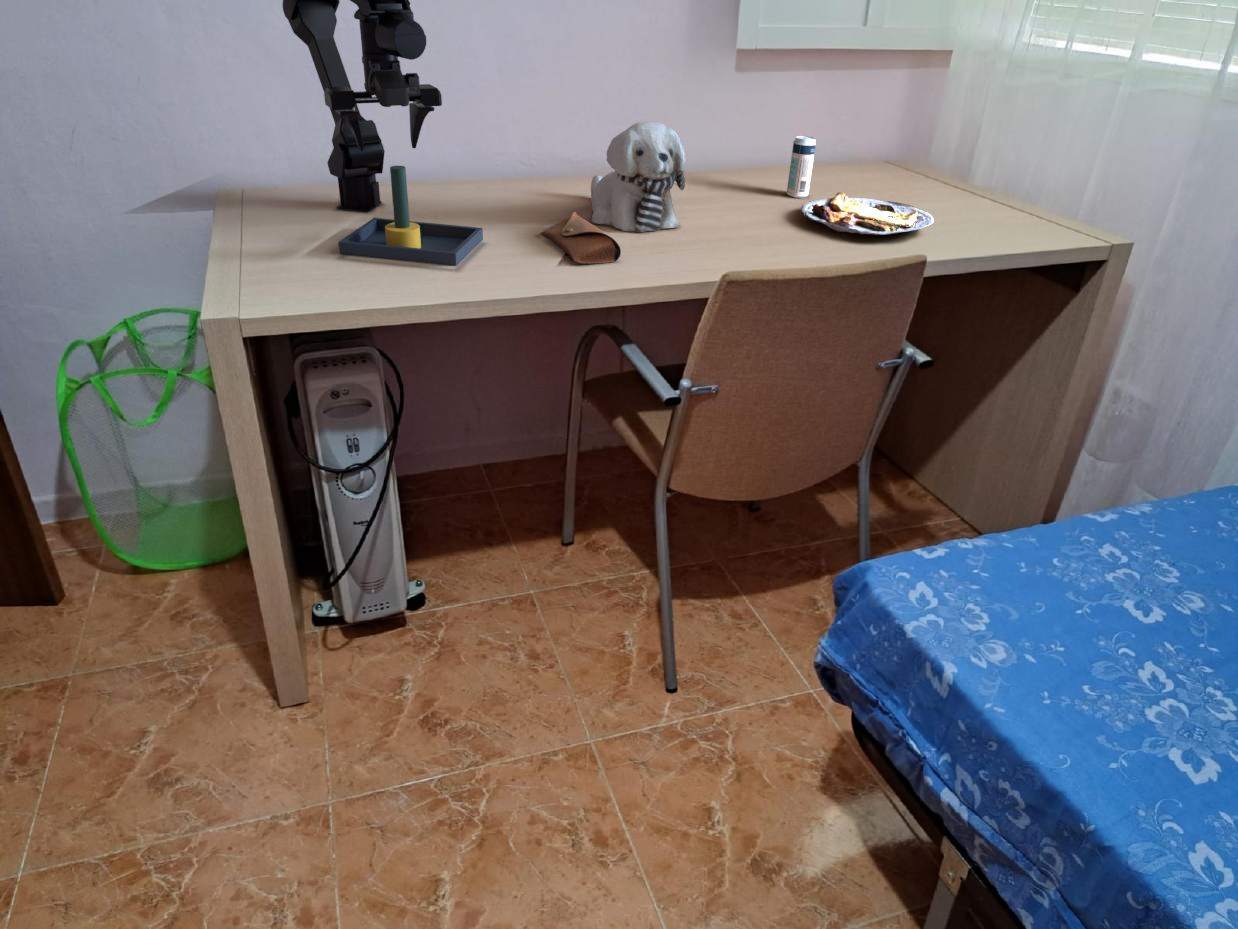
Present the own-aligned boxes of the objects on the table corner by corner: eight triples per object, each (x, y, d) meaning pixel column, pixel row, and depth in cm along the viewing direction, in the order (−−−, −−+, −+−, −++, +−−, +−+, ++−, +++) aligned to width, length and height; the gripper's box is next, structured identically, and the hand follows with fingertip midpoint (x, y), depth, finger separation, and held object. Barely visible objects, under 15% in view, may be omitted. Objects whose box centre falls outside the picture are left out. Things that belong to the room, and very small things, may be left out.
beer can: (811, 195, 196) (820, 137, 189) (803, 199, 192) (811, 141, 186) (791, 191, 198) (799, 134, 192) (782, 195, 194) (790, 137, 188)
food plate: (777, 220, 178) (780, 202, 176) (839, 201, 193) (842, 184, 191) (892, 251, 164) (896, 232, 162) (949, 227, 179) (953, 210, 177)
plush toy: (653, 239, 163) (660, 133, 154) (543, 213, 174) (543, 113, 165) (700, 218, 176) (709, 119, 167) (594, 195, 187) (597, 101, 178)
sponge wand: (380, 250, 149) (373, 169, 142) (396, 240, 153) (389, 161, 147) (412, 254, 148) (406, 172, 141) (426, 244, 152) (421, 165, 146)
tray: (340, 258, 146) (338, 241, 145) (375, 233, 159) (374, 217, 157) (456, 270, 144) (455, 253, 143) (483, 243, 157) (482, 227, 155)
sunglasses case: (534, 232, 162) (551, 198, 160) (564, 248, 166) (582, 215, 164) (575, 263, 148) (595, 227, 146) (607, 280, 152) (627, 245, 151)
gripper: (333, 59, 140) (344, 163, 148) (449, 57, 148) (454, 156, 156) (318, 50, 148) (329, 148, 156) (428, 48, 156) (434, 142, 164)
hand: (388, 149), depth 158 cm, fingers open, 9 cm apart
